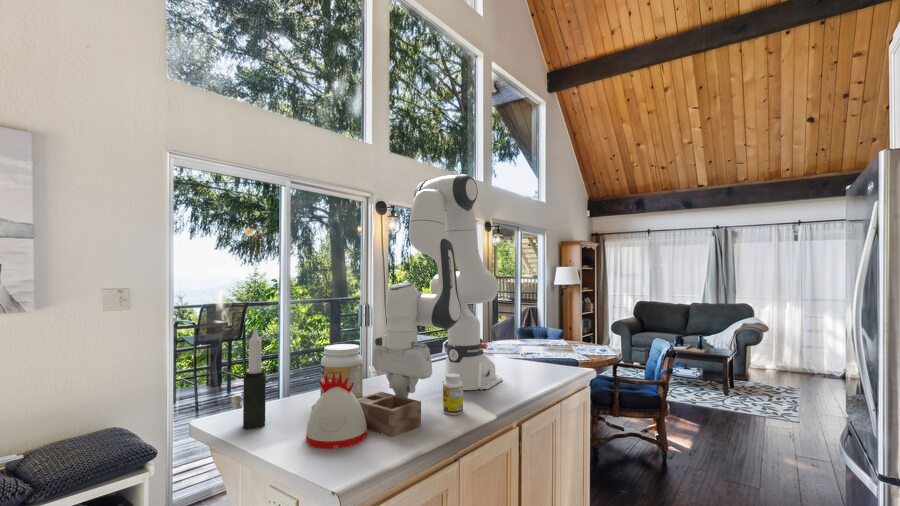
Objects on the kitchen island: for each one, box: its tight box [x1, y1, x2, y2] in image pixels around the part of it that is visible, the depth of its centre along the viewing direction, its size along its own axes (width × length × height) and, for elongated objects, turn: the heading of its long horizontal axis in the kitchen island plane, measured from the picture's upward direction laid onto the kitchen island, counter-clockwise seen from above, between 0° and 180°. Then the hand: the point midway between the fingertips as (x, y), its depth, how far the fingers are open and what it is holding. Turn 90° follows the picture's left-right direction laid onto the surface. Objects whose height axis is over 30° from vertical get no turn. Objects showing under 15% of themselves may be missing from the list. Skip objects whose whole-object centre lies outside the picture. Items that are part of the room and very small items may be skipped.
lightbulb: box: [391, 374, 411, 398], centre depth 123 cm, size 6×6×11 cm
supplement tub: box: [320, 343, 364, 398], centre depth 130 cm, size 12×12×17 cm
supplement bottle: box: [442, 374, 464, 416], centre depth 122 cm, size 6×6×10 cm
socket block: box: [357, 391, 422, 438], centre depth 112 cm, size 10×15×6 cm, turn 51°
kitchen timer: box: [305, 373, 368, 450], centre depth 104 cm, size 14×14×15 cm
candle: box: [242, 326, 267, 430], centre depth 113 cm, size 5×5×25 cm
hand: (402, 390), depth 123 cm, fingers closed on lightbulb, 6 cm apart
